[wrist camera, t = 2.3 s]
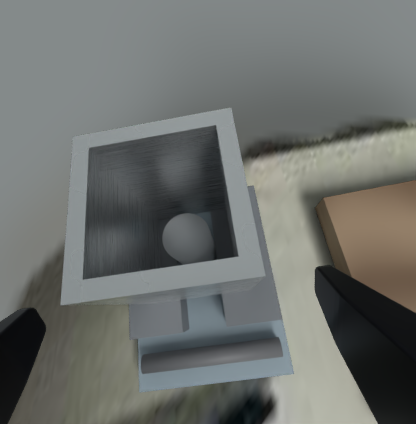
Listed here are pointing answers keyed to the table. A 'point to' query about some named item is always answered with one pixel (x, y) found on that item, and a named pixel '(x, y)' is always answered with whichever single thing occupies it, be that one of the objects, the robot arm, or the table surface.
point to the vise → (209, 315)
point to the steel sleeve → (155, 211)
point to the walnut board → (375, 238)
